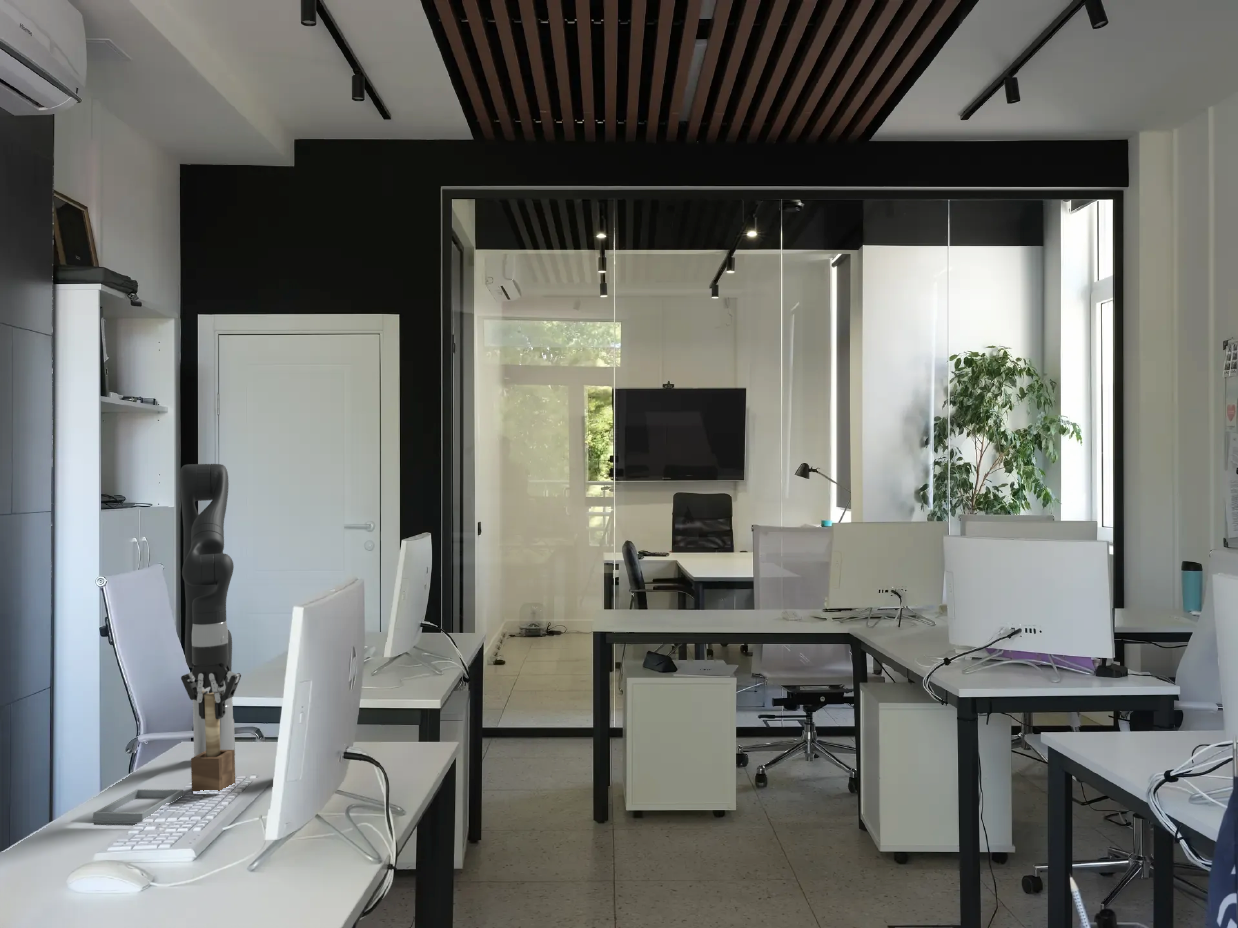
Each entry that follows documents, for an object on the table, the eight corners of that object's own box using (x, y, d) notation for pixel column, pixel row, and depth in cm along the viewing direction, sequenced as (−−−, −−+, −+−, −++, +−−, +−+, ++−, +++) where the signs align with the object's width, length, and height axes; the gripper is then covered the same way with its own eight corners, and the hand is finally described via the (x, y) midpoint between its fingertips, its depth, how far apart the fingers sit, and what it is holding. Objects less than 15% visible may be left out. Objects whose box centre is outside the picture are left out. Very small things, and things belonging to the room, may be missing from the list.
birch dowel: (210, 753, 211) (209, 692, 211) (223, 753, 211) (221, 692, 211) (203, 757, 208) (201, 695, 208) (215, 757, 208) (214, 695, 208)
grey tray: (137, 799, 207) (137, 788, 207) (183, 800, 205) (183, 789, 205) (93, 824, 192) (93, 812, 192) (142, 825, 191) (142, 813, 191)
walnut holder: (208, 788, 213) (207, 749, 213) (235, 788, 212) (234, 749, 212) (192, 798, 206) (190, 758, 206) (219, 799, 206) (218, 758, 206)
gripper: (247, 638, 212) (249, 713, 212) (190, 638, 214) (192, 713, 214) (230, 645, 205) (232, 723, 205) (171, 645, 207) (173, 722, 207)
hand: (212, 717), depth 209 cm, fingers closed on birch dowel, 3 cm apart
